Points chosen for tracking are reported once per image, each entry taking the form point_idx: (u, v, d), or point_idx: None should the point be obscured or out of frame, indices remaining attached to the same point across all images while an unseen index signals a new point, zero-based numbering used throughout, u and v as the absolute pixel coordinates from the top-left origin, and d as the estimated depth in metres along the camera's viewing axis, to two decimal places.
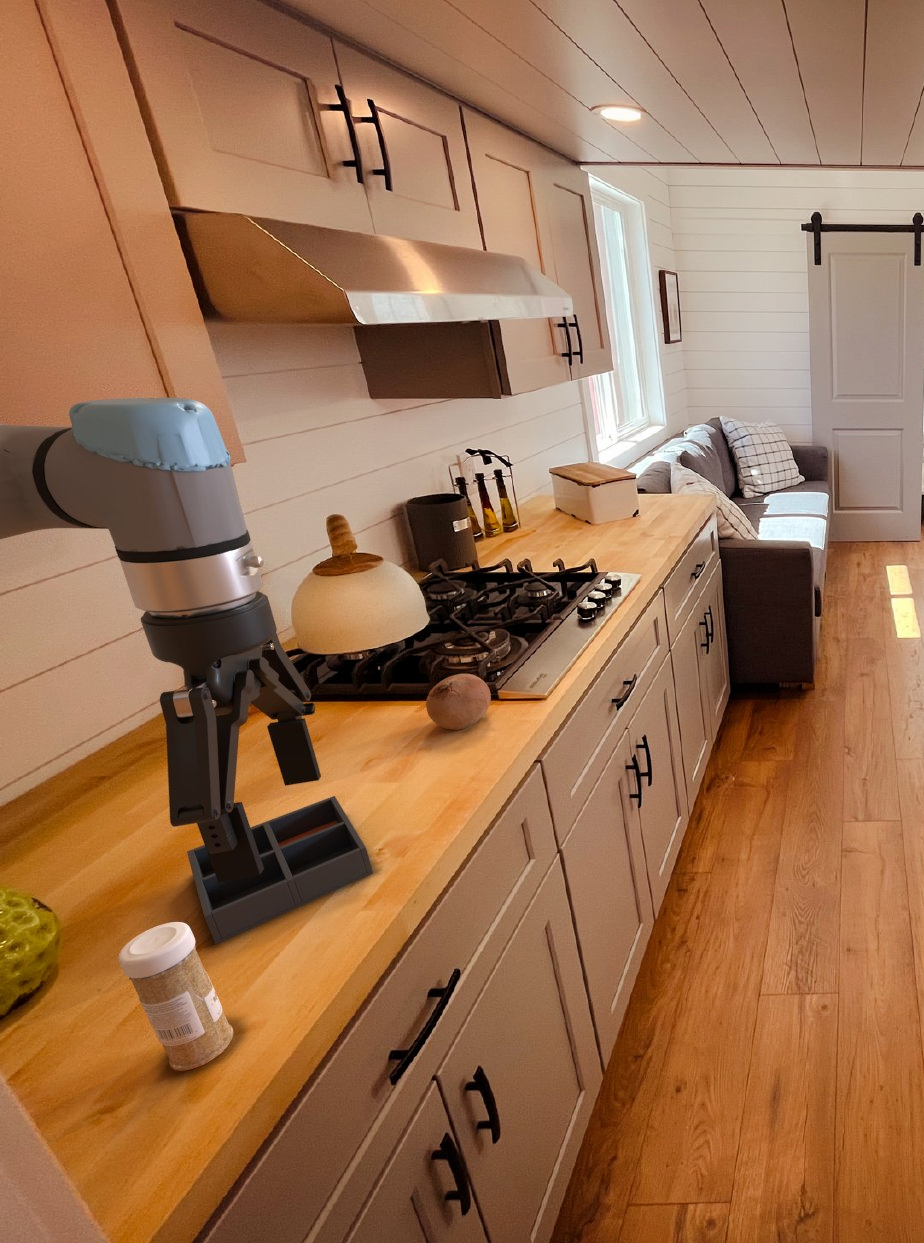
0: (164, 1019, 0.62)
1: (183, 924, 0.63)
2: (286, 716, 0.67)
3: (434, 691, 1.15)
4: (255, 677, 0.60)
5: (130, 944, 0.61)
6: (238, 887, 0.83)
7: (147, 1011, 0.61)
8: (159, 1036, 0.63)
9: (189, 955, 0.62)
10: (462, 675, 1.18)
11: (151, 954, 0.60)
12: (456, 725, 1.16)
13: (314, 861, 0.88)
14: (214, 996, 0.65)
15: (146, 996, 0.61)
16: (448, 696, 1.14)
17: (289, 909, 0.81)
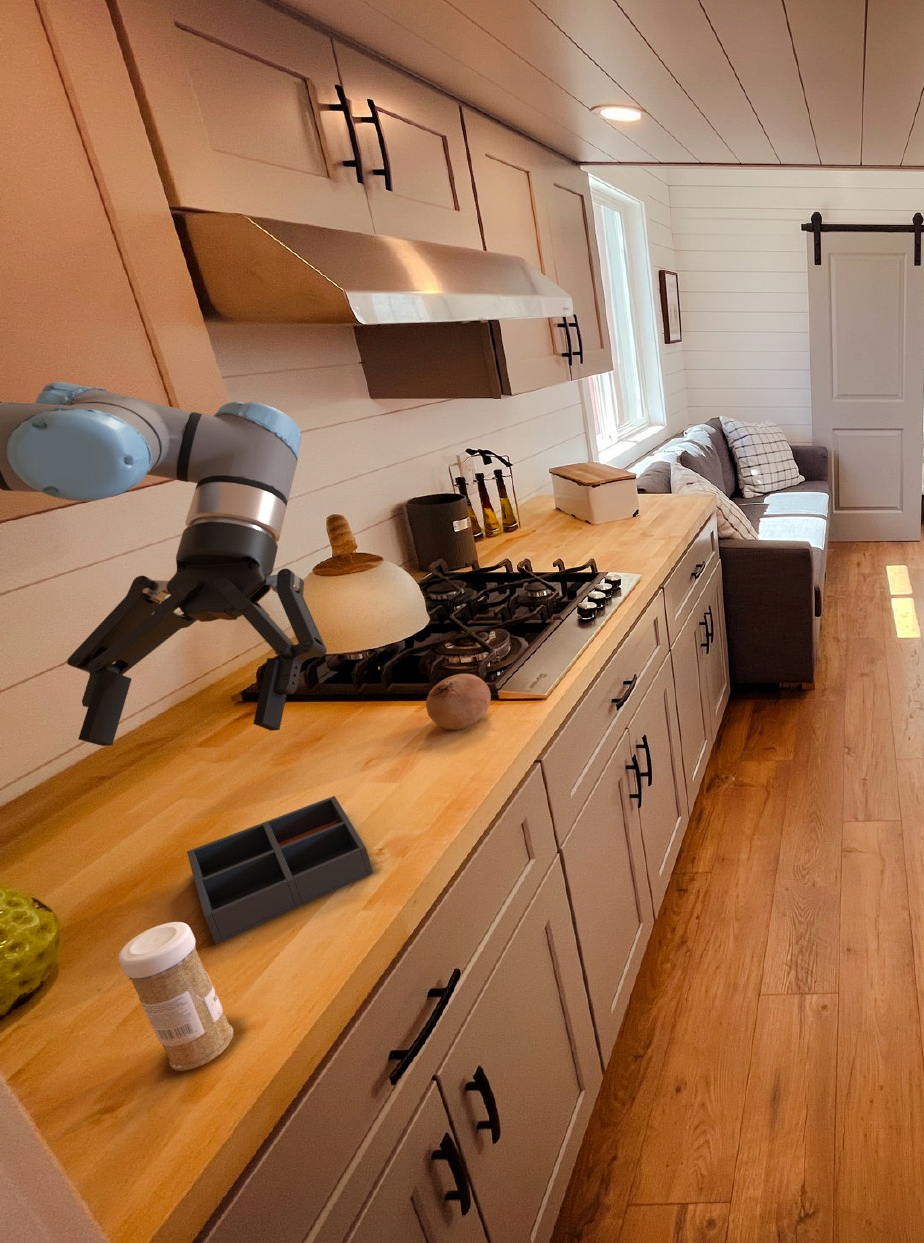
0: (164, 1019, 0.62)
1: (183, 924, 0.63)
2: (113, 670, 0.67)
3: (434, 691, 1.15)
4: None
5: (130, 944, 0.61)
6: (238, 887, 0.83)
7: (147, 1011, 0.61)
8: (159, 1036, 0.63)
9: (189, 955, 0.62)
10: (462, 675, 1.18)
11: (151, 954, 0.60)
12: (456, 725, 1.16)
13: (314, 861, 0.88)
14: (214, 996, 0.65)
15: (146, 996, 0.61)
16: (448, 696, 1.14)
17: (289, 909, 0.81)
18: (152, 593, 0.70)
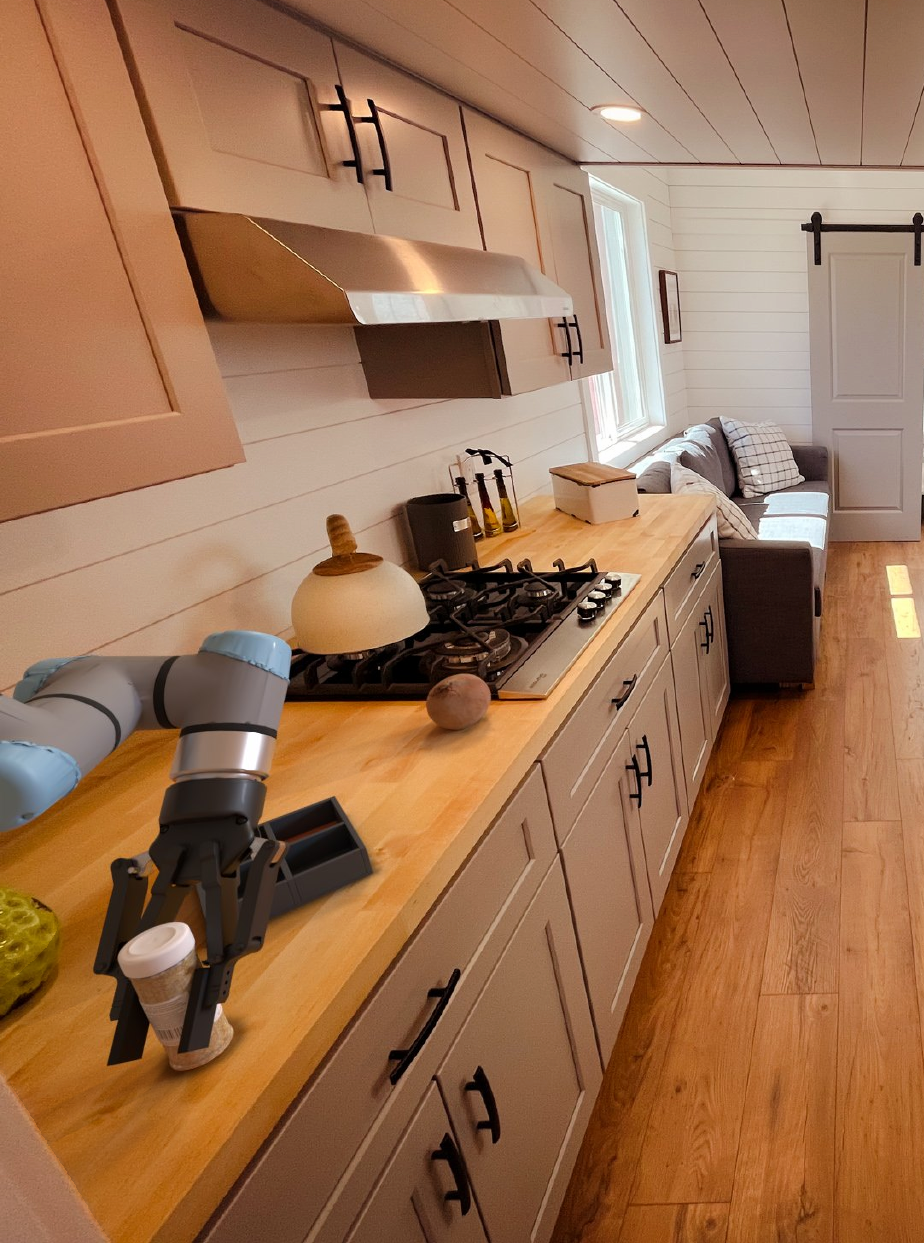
0: (164, 1019, 0.62)
1: (182, 924, 0.63)
2: None
3: (434, 691, 1.15)
4: None
5: (129, 944, 0.61)
6: (238, 887, 0.83)
7: (147, 1011, 0.61)
8: (159, 1036, 0.63)
9: (189, 955, 0.62)
10: (462, 675, 1.18)
11: (150, 954, 0.60)
12: (456, 725, 1.16)
13: (314, 861, 0.88)
14: None
15: (146, 996, 0.61)
16: (448, 696, 1.14)
17: (289, 909, 0.81)
18: (138, 869, 0.66)
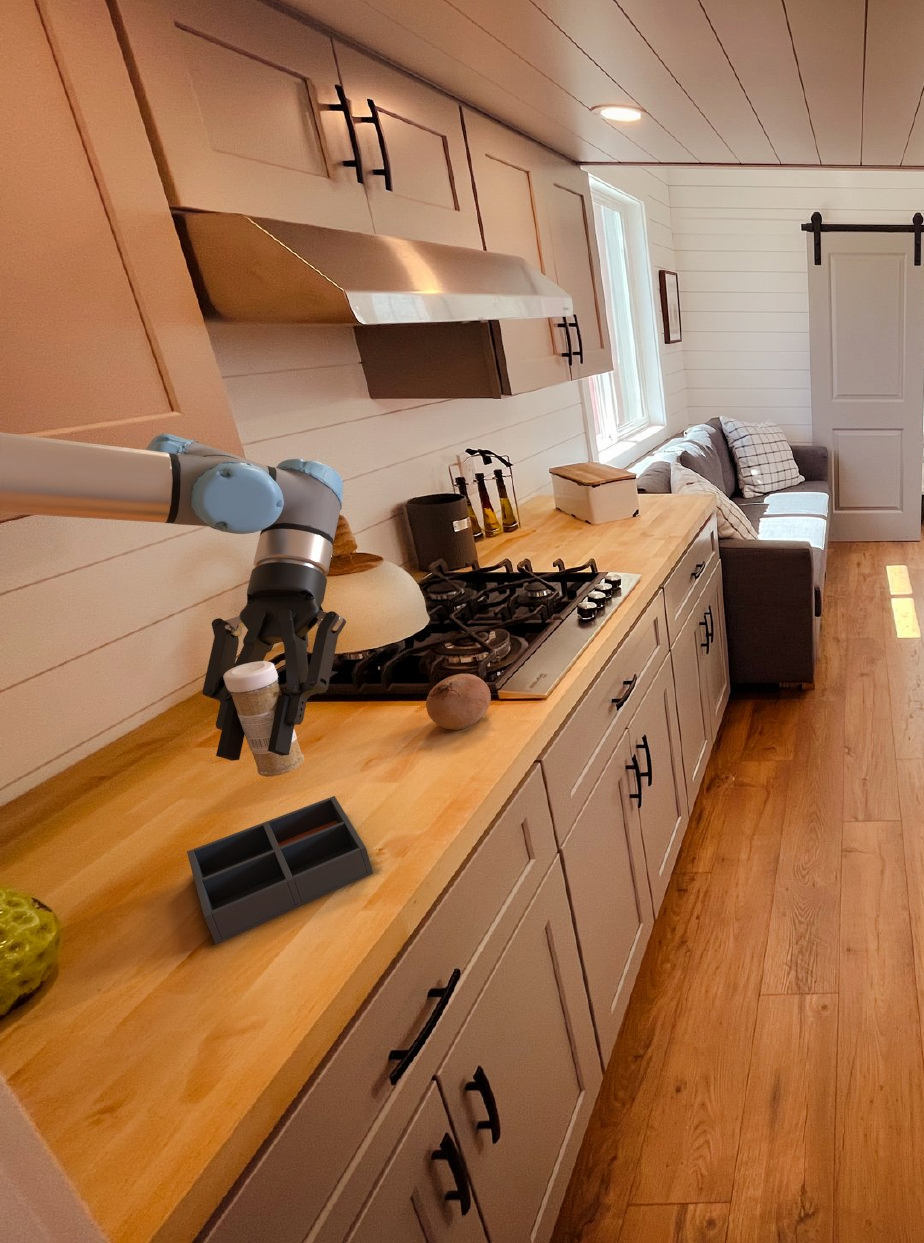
0: (256, 730, 0.81)
1: (269, 662, 0.83)
2: None
3: (434, 691, 1.15)
4: None
5: (231, 670, 0.81)
6: (238, 887, 0.83)
7: (243, 722, 0.81)
8: (251, 745, 0.82)
9: (274, 683, 0.82)
10: (462, 675, 1.18)
11: (248, 674, 0.80)
12: (456, 725, 1.16)
13: (314, 861, 0.88)
14: None
15: (243, 709, 0.81)
16: (448, 696, 1.14)
17: (289, 909, 0.81)
18: (232, 628, 0.85)
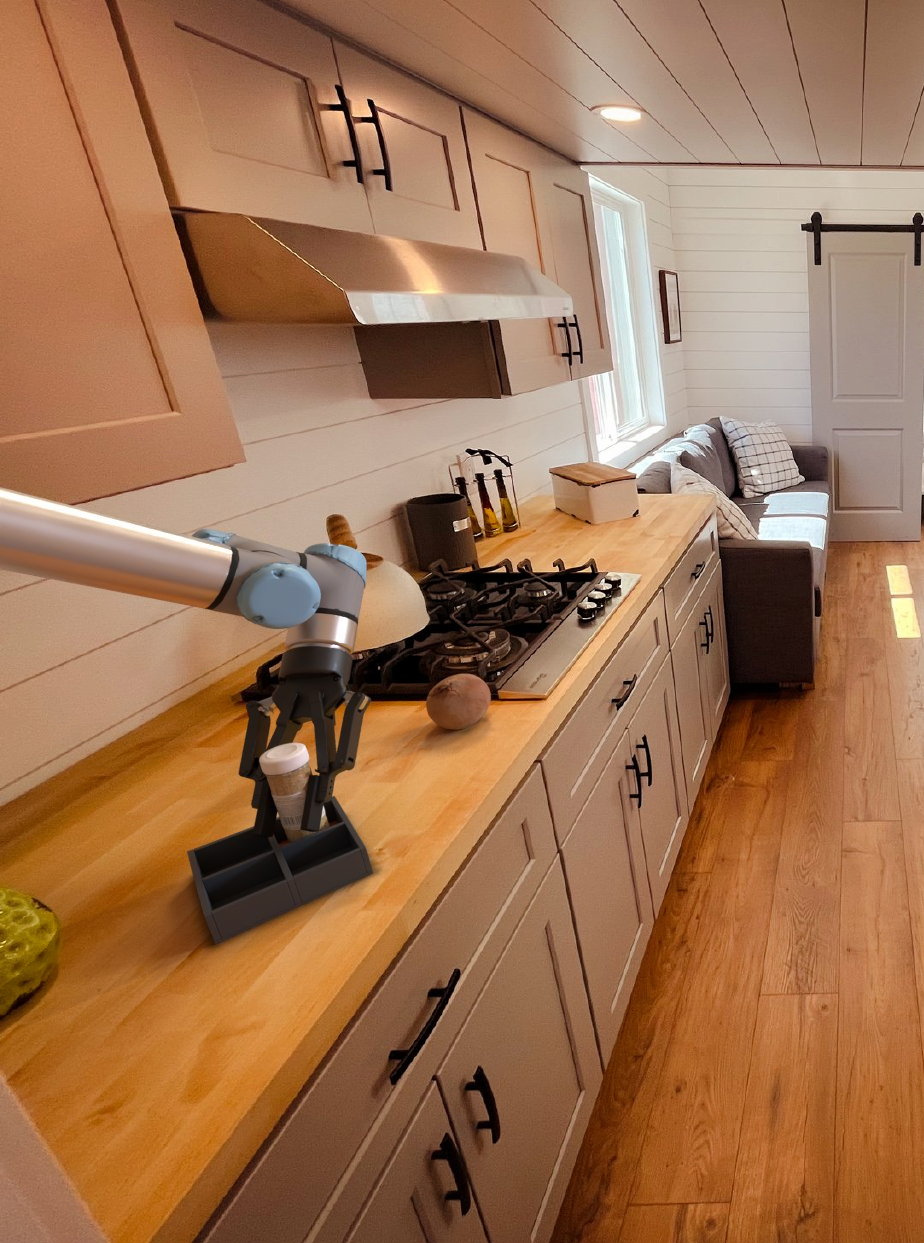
0: (289, 809, 0.87)
1: None
2: None
3: (434, 691, 1.15)
4: None
5: (266, 753, 0.86)
6: (238, 887, 0.83)
7: (277, 802, 0.87)
8: (284, 822, 0.88)
9: (306, 764, 0.88)
10: (462, 675, 1.18)
11: (282, 758, 0.85)
12: (456, 725, 1.16)
13: (314, 861, 0.88)
14: None
15: (277, 790, 0.86)
16: (448, 696, 1.14)
17: (289, 909, 0.81)
18: (265, 709, 0.91)
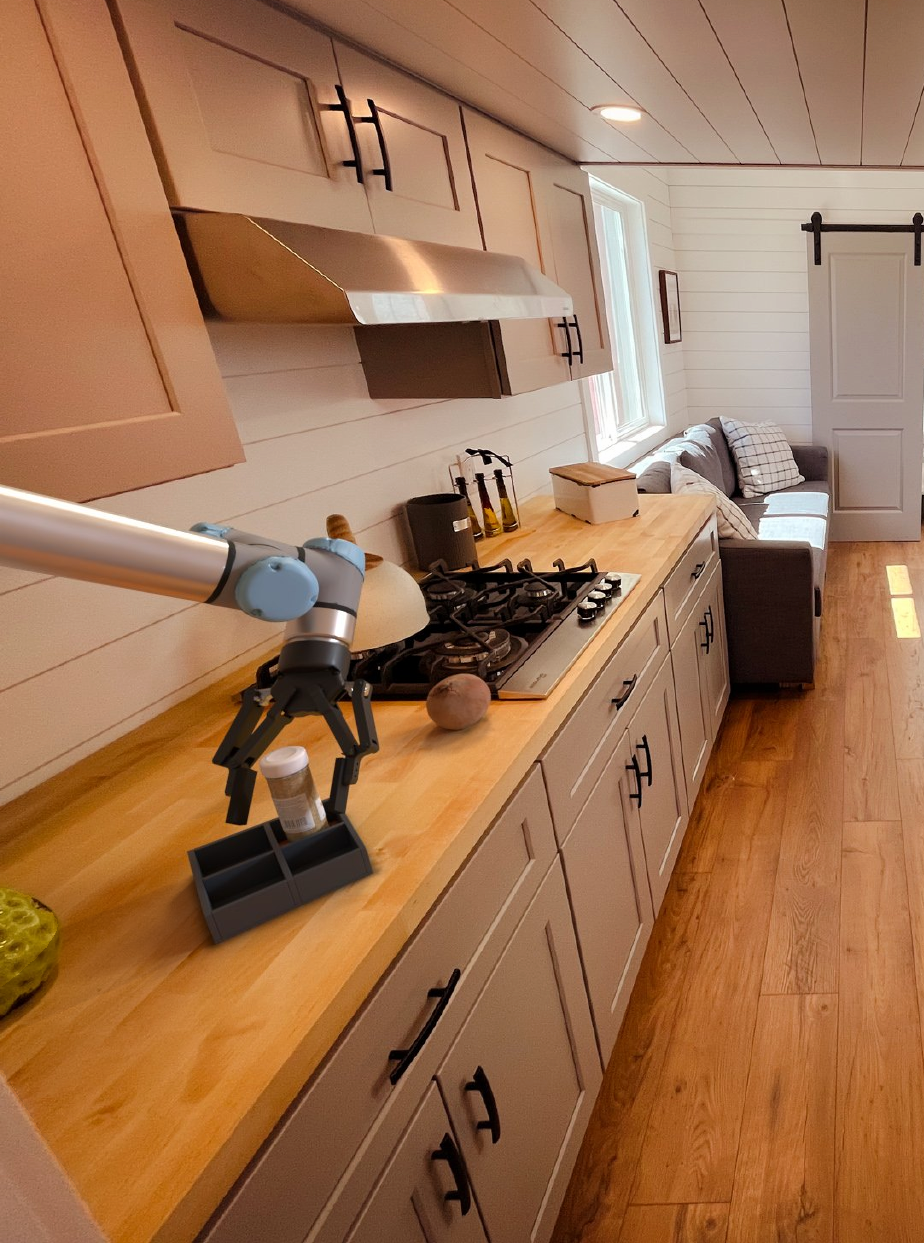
0: (289, 812, 0.87)
1: (300, 746, 0.88)
2: (245, 765, 0.88)
3: (434, 691, 1.15)
4: None
5: (265, 756, 0.86)
6: (238, 887, 0.83)
7: (277, 805, 0.87)
8: (284, 825, 0.88)
9: (306, 767, 0.88)
10: (462, 675, 1.18)
11: (282, 761, 0.85)
12: (456, 725, 1.16)
13: (314, 861, 0.88)
14: (320, 802, 0.90)
15: (277, 793, 0.86)
16: (448, 696, 1.14)
17: (289, 909, 0.81)
18: (260, 699, 0.91)
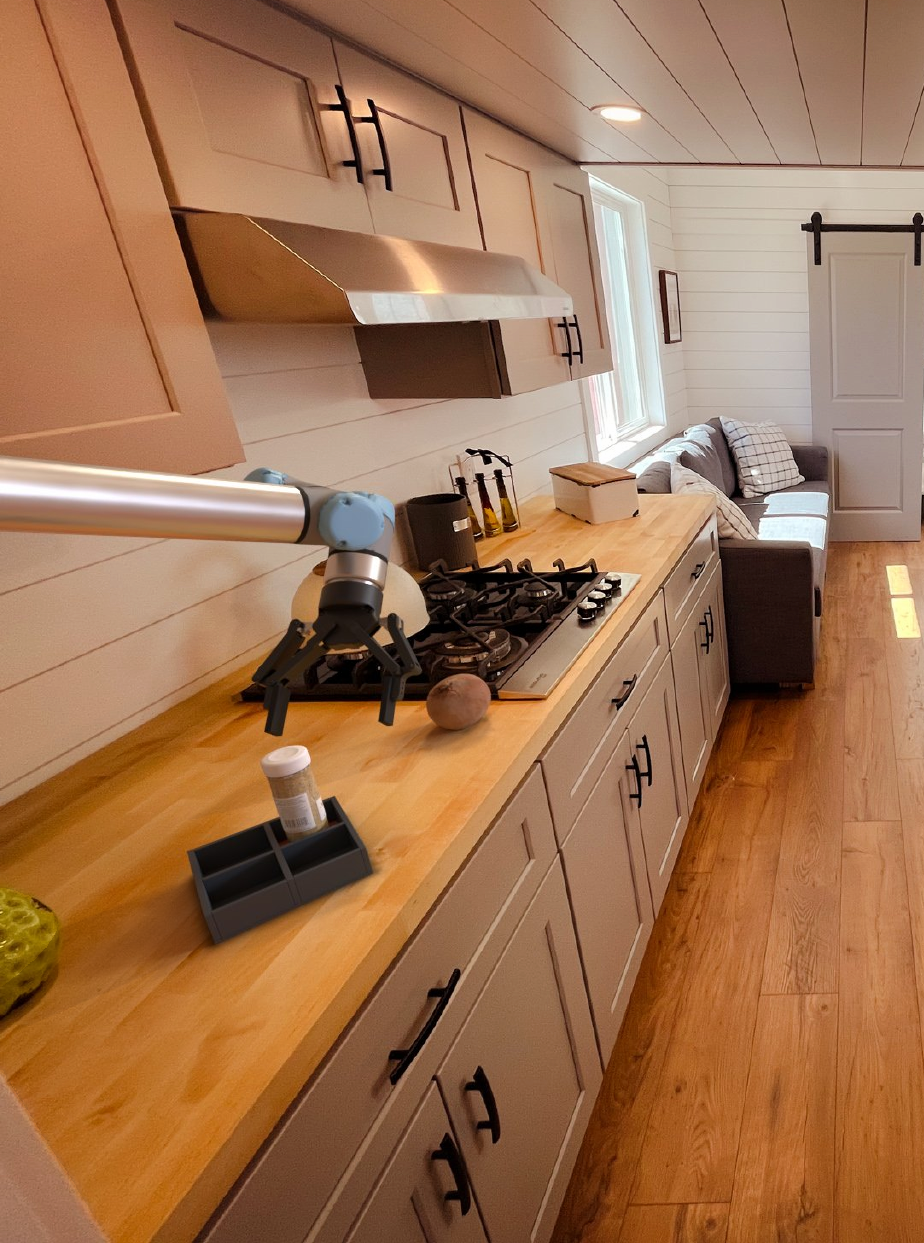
0: (290, 811, 0.87)
1: (302, 746, 0.88)
2: (280, 685, 0.98)
3: (434, 691, 1.15)
4: None
5: (267, 756, 0.86)
6: (238, 887, 0.83)
7: (278, 804, 0.87)
8: (285, 825, 0.88)
9: (307, 767, 0.88)
10: (462, 675, 1.18)
11: (283, 761, 0.85)
12: (456, 725, 1.16)
13: (314, 861, 0.88)
14: (321, 802, 0.90)
15: (279, 792, 0.86)
16: (448, 696, 1.14)
17: (289, 909, 0.81)
18: (302, 631, 1.01)
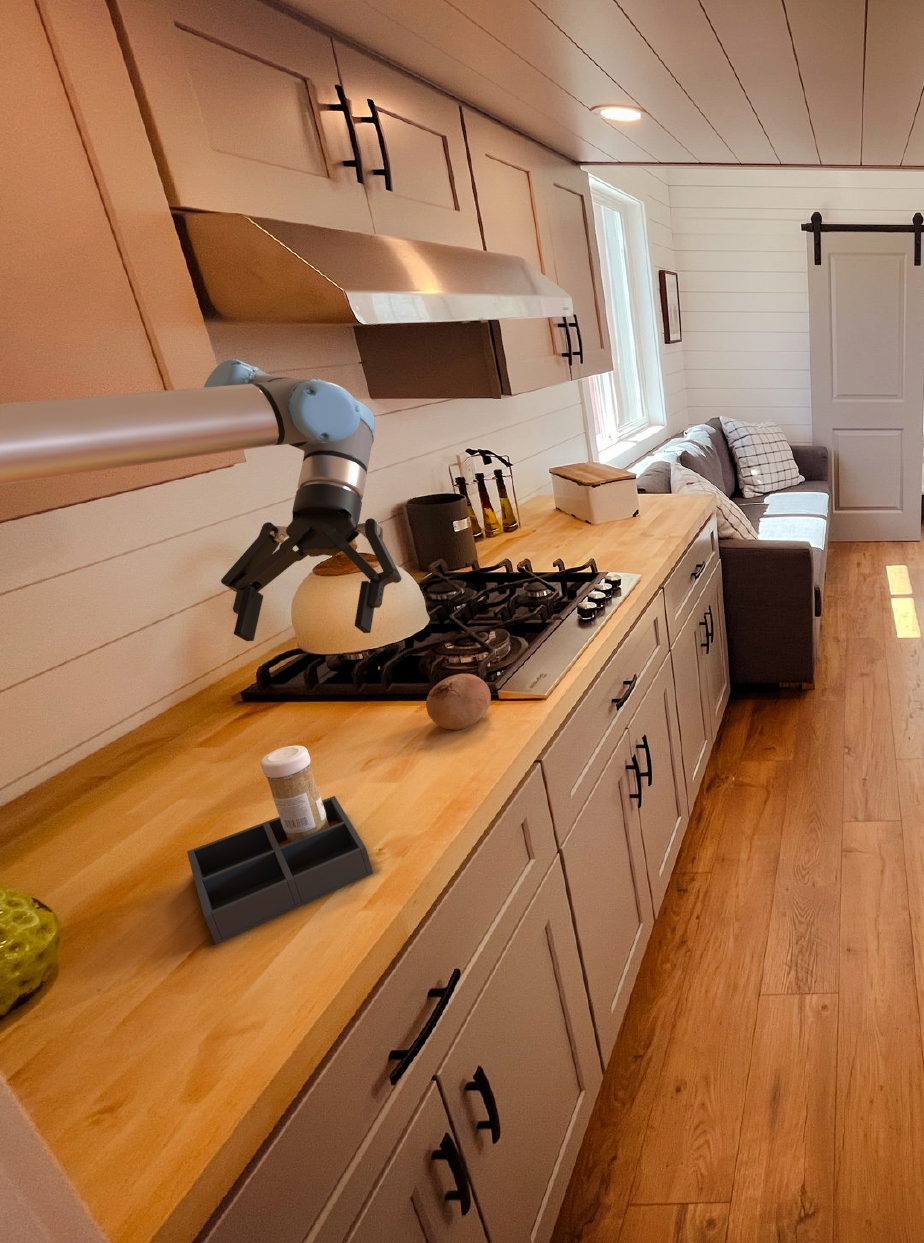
0: (290, 811, 0.87)
1: (302, 746, 0.88)
2: None
3: (434, 691, 1.15)
4: None
5: (267, 756, 0.86)
6: (238, 887, 0.83)
7: (278, 804, 0.87)
8: (285, 825, 0.88)
9: (307, 767, 0.88)
10: (462, 675, 1.18)
11: (283, 761, 0.85)
12: (456, 725, 1.16)
13: (314, 861, 0.88)
14: (321, 802, 0.90)
15: (278, 792, 0.86)
16: (448, 696, 1.14)
17: (289, 909, 0.81)
18: (276, 535, 0.96)
